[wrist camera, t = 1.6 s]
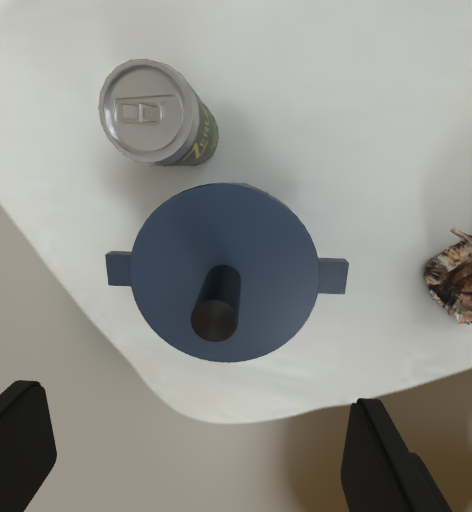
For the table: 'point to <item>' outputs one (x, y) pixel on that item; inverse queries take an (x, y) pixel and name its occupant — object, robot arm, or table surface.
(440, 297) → the plant with pod
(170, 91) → the beer can
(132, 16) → the table surface
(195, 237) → the lid
